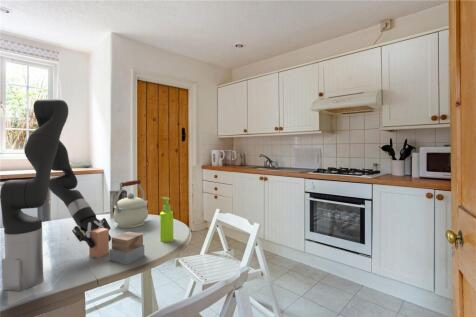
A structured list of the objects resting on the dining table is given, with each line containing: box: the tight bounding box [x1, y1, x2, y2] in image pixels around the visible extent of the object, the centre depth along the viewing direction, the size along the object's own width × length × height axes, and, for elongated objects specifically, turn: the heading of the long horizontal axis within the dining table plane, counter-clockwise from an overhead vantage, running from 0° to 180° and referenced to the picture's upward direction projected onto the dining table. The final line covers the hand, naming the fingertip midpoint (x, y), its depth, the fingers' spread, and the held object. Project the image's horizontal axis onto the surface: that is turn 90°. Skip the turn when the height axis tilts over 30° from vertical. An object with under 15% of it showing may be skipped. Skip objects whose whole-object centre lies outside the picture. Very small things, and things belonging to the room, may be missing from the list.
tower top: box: [111, 231, 144, 252], centre depth 101 cm, size 8×8×4 cm
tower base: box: [108, 244, 145, 265], centre depth 101 cm, size 9×9×4 cm
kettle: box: [112, 179, 149, 229], centre depth 147 cm, size 25×18×25 cm
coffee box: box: [109, 189, 128, 218], centre depth 165 cm, size 9×6×16 cm
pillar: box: [88, 227, 110, 258], centre depth 104 cm, size 5×5×10 cm
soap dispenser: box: [159, 196, 174, 243], centre depth 121 cm, size 6×7×20 cm
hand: (101, 243), depth 104 cm, fingers open, 6 cm apart
